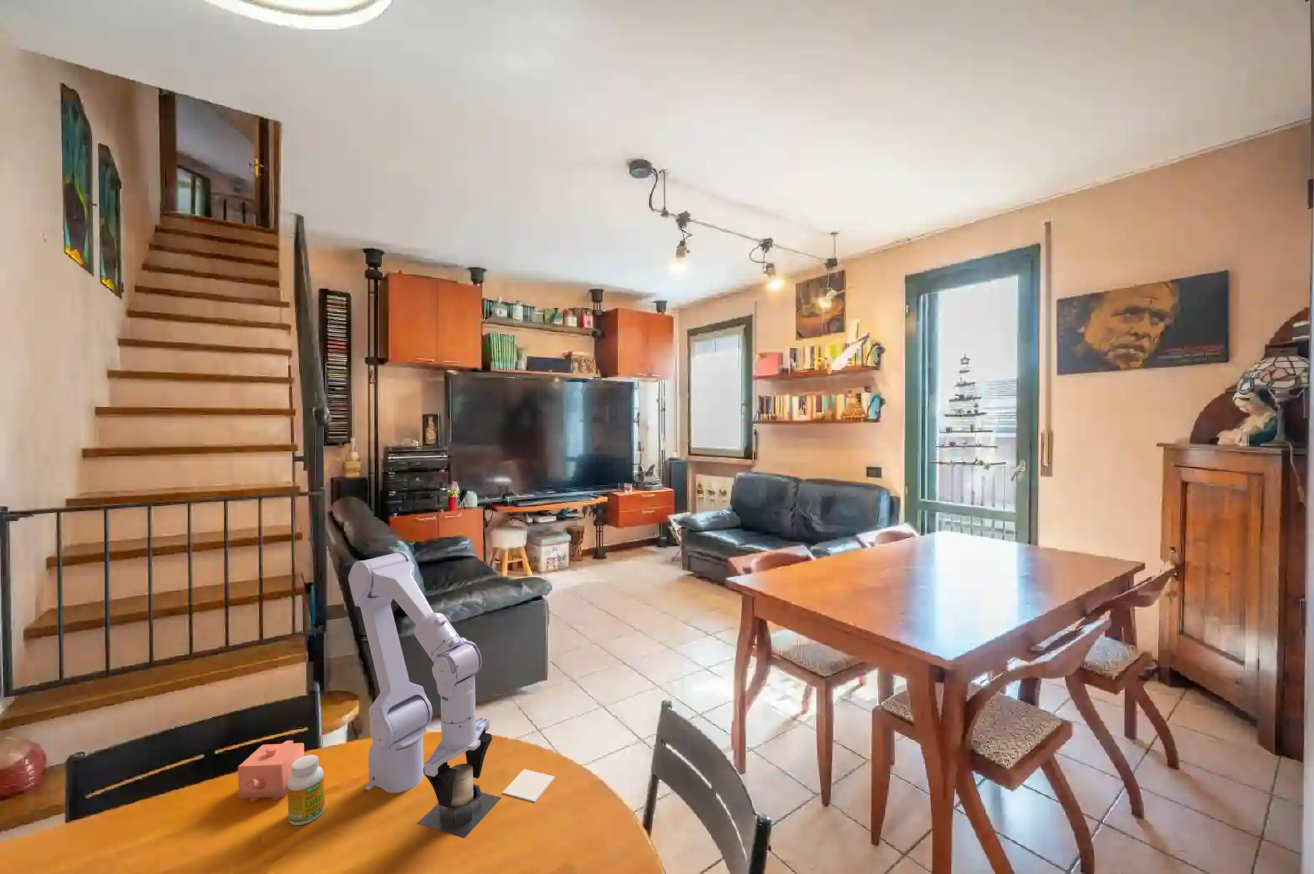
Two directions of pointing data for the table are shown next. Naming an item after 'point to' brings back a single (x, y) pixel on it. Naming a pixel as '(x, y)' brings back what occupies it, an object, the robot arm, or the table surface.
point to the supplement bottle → (305, 790)
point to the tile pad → (529, 785)
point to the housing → (460, 814)
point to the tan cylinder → (462, 786)
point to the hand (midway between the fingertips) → (460, 790)
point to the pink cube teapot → (268, 771)
